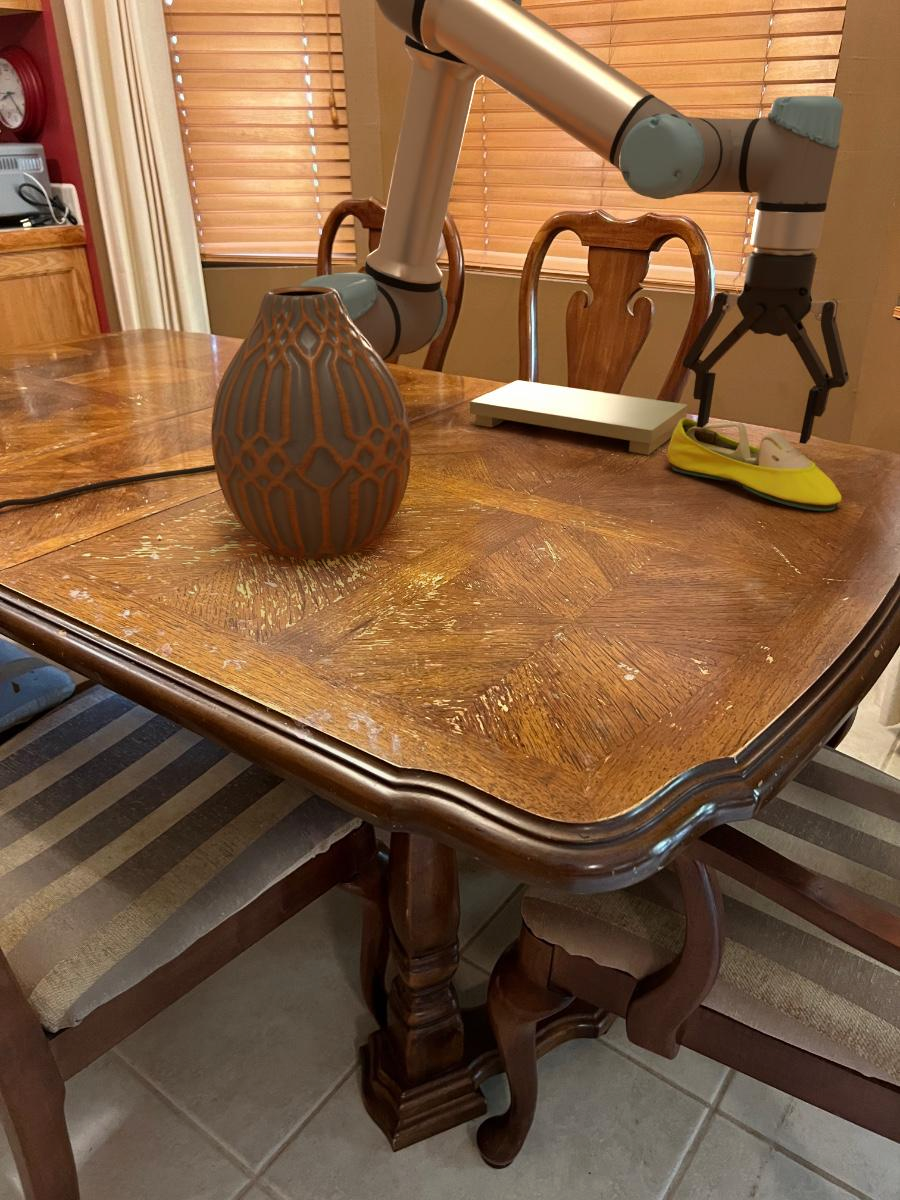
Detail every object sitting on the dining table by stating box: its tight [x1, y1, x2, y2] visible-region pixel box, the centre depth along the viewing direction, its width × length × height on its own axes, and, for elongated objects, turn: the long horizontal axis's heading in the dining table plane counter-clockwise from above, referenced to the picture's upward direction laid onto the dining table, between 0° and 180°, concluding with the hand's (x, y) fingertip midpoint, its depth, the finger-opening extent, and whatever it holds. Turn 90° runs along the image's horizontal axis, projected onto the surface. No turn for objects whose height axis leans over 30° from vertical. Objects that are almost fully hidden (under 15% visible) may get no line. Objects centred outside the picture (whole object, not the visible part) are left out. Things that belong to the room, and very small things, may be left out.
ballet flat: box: [667, 417, 843, 512], centre depth 111 cm, size 8×24×8 cm, turn 42°
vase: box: [210, 285, 412, 561], centre depth 92 cm, size 21×21×27 cm
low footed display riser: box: [469, 379, 689, 456], centre depth 135 cm, size 16×30×4 cm, turn 58°
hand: (752, 432), depth 109 cm, fingers open, 12 cm apart
